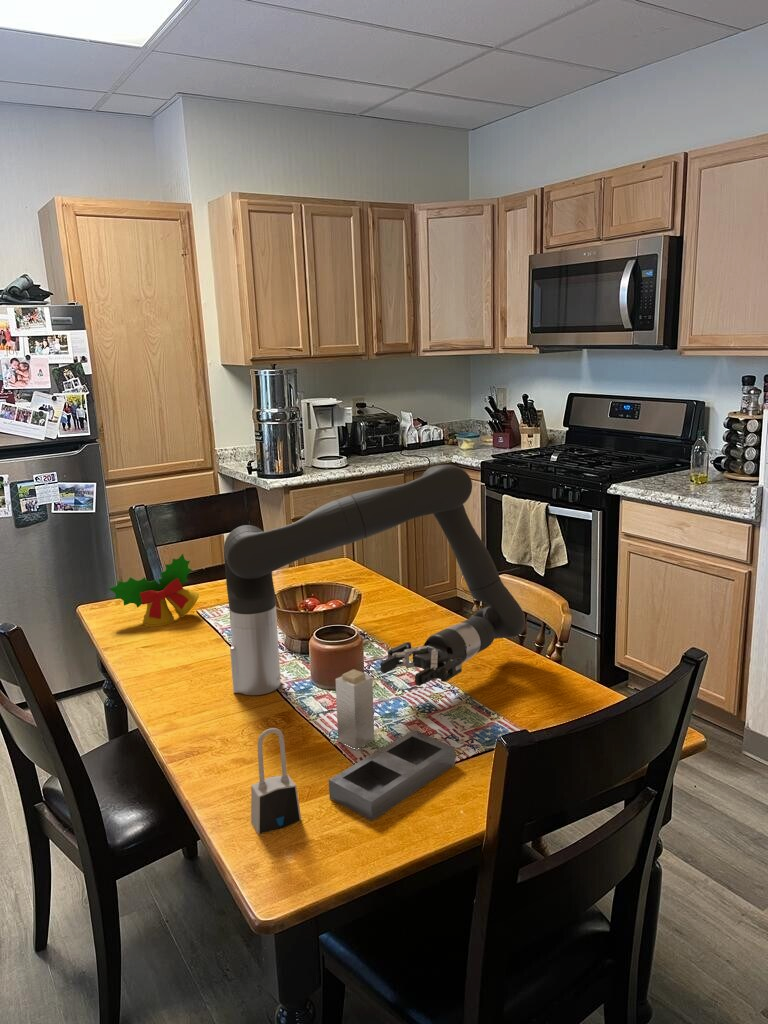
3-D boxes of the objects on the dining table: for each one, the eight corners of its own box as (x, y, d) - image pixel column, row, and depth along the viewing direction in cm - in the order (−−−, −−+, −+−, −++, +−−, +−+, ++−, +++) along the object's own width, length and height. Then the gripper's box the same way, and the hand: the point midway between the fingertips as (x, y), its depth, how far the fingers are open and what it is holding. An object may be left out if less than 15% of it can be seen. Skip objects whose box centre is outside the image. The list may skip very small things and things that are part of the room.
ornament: (135, 646, 195) (109, 603, 186) (130, 627, 201) (106, 584, 193) (212, 611, 199) (191, 567, 190) (206, 593, 206) (185, 550, 197)
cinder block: (371, 821, 115) (371, 801, 114) (329, 798, 120) (328, 779, 120) (455, 764, 129) (454, 747, 128) (413, 746, 135) (413, 729, 134)
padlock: (258, 835, 112) (251, 741, 109) (250, 820, 116) (243, 728, 112) (302, 821, 115) (297, 729, 112) (292, 807, 119) (287, 717, 115)
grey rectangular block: (356, 750, 134) (353, 682, 131) (338, 742, 137) (335, 674, 134) (374, 740, 137) (372, 673, 134) (356, 732, 140) (353, 666, 137)
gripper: (424, 620, 159) (369, 646, 147) (482, 636, 149) (428, 665, 138) (425, 654, 160) (371, 682, 149) (482, 673, 151) (429, 704, 139)
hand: (398, 674), depth 143 cm, fingers open, 8 cm apart
